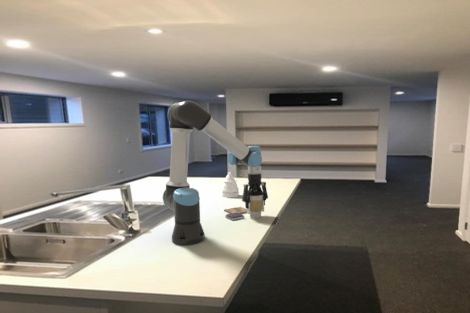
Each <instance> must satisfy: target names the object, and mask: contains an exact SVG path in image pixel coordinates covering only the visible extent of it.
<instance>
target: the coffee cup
mask: <svg viewBox="0 0 470 313" xmlns="http://www.w3.org/2000/svg"><path fill="white" fill-rule="evenodd" d="M251 190H252V189H251ZM263 194H264V193H263V190H262V189H261V190H260V191H258V190H257V189H256V190H254V191H253V192H249V189H248V193H247V195H249V196H250V200H249V203H250V214H249V217H250V218H251V219H258V218H259V219H260V218H262V201H263V199H262V198H263Z"/></svg>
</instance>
